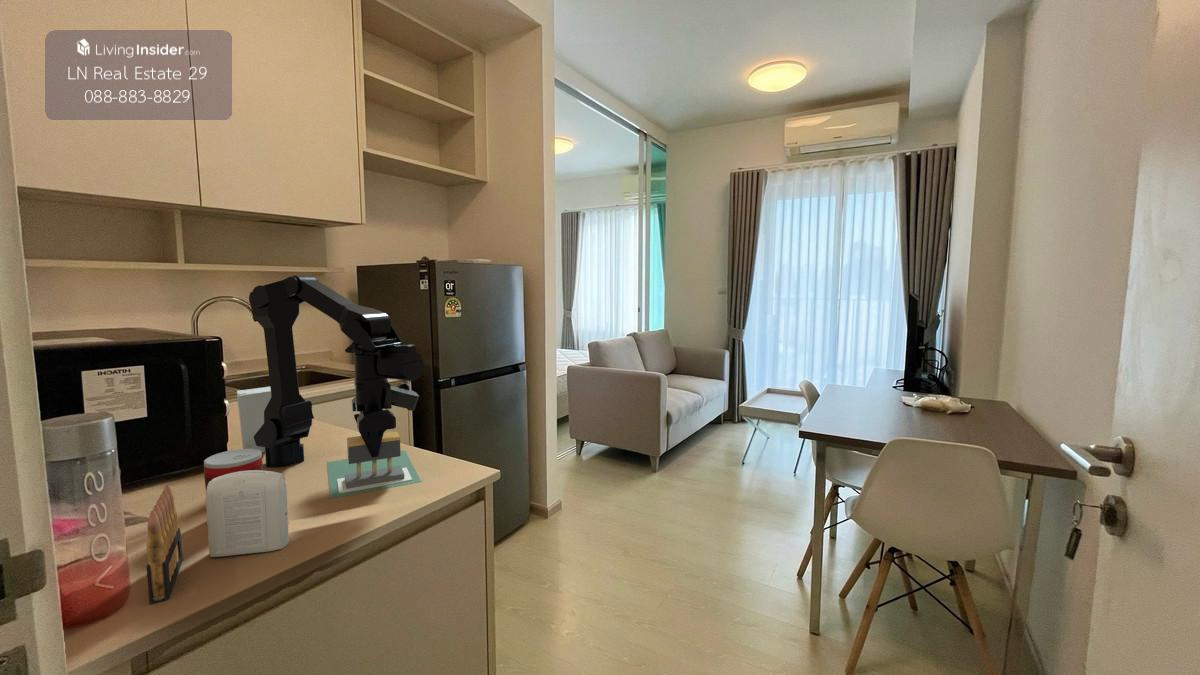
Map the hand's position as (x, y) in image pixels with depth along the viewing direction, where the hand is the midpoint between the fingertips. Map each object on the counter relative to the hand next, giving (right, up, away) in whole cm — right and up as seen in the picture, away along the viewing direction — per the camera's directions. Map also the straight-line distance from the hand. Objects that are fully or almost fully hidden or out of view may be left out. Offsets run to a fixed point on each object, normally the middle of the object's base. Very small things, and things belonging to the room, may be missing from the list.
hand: (373, 453), depth 96 cm
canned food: (-18, -8, -12) cm, 23 cm away
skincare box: (-36, -4, +20) cm, 41 cm away
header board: (-3, -6, +5) cm, 9 cm away
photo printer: (-9, -10, -22) cm, 25 cm away
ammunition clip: (-14, -11, -30) cm, 35 cm away
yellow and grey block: (0, -1, 0) cm, 1 cm away
